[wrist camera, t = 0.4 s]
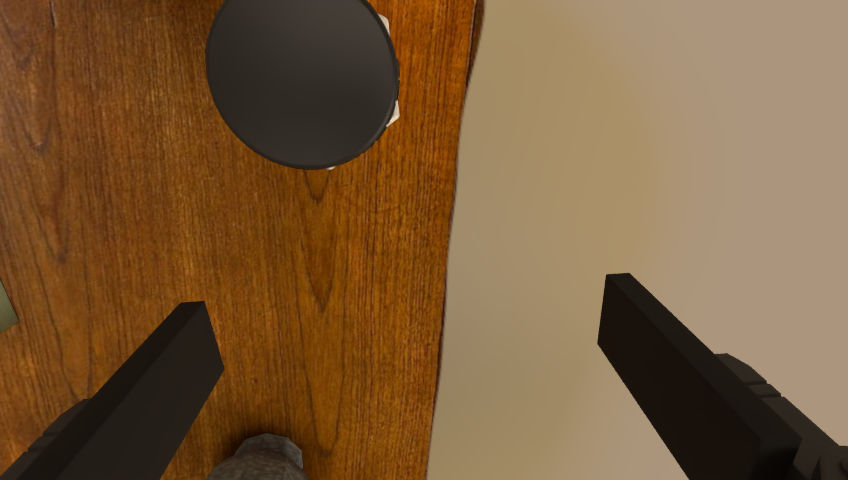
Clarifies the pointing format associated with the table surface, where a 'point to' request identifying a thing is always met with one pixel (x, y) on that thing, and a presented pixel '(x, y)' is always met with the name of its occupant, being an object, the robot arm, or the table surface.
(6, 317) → the olive green cubby
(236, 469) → the mortar and pestle
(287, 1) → the jar
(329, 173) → the table surface
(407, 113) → the table surface
